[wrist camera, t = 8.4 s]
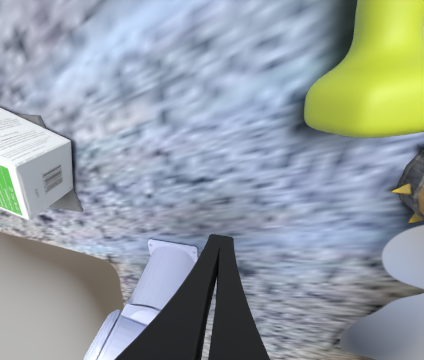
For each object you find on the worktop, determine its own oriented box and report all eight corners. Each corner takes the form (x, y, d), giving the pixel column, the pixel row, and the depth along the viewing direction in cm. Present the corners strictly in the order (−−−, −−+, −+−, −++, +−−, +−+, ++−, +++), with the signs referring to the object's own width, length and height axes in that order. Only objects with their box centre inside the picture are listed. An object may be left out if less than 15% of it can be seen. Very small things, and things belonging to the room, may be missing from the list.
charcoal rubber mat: (83, 210, 28) (81, 211, 27) (-15, 195, 30) (-18, 196, 30) (40, 115, 20) (36, 116, 20) (-86, 105, 22) (-91, 105, 22)
